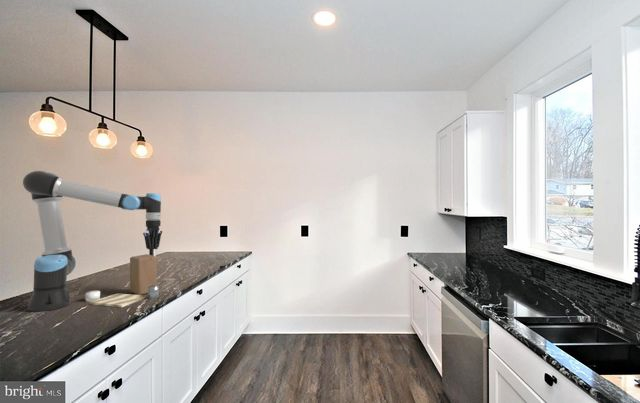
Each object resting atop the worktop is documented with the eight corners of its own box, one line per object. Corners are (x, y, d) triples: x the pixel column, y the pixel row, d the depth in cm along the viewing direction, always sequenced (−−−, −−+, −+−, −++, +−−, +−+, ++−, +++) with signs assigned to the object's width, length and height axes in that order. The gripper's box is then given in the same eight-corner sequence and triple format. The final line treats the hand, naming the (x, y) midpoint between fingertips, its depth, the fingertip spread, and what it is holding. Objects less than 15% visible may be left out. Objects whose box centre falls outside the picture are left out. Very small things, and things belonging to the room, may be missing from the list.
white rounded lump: (82, 301, 151) (82, 293, 151) (93, 297, 157) (93, 290, 157) (92, 302, 150) (92, 294, 150) (102, 298, 156) (103, 291, 156)
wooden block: (157, 291, 170) (157, 255, 170) (138, 296, 162) (138, 259, 161) (147, 287, 176) (147, 253, 175) (129, 292, 167) (129, 256, 167)
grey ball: (145, 298, 158) (146, 287, 158) (152, 295, 163) (152, 284, 163) (154, 299, 157) (154, 287, 157) (160, 296, 162) (161, 285, 162)
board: (89, 304, 147) (90, 302, 147) (117, 295, 163) (117, 293, 163) (121, 307, 143) (121, 305, 144) (146, 297, 159) (147, 295, 159)
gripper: (150, 220, 168) (150, 262, 168) (166, 219, 181) (165, 258, 181) (139, 220, 169) (138, 262, 169) (155, 219, 182) (154, 258, 182)
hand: (152, 260), depth 175 cm, fingers closed
